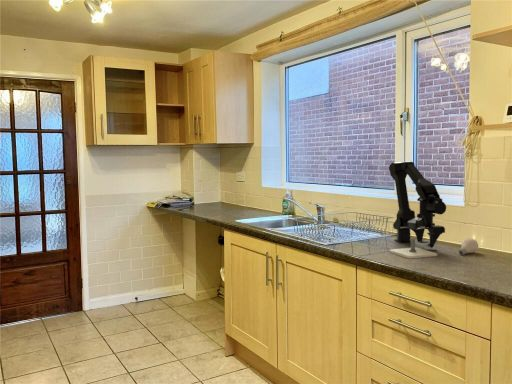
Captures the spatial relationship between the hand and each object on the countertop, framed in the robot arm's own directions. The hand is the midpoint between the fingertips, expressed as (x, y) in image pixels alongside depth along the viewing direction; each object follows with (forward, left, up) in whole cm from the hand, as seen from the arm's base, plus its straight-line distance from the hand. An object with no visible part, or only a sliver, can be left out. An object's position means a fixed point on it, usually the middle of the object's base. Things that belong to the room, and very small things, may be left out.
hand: (425, 245), depth 210 cm
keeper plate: (+7, -12, -1) cm, 14 cm away
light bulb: (+14, +10, -2) cm, 18 cm away
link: (0, 0, -1) cm, 1 cm away
